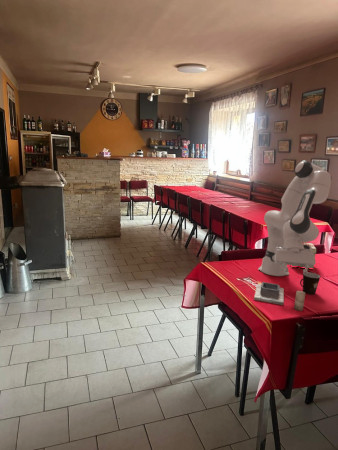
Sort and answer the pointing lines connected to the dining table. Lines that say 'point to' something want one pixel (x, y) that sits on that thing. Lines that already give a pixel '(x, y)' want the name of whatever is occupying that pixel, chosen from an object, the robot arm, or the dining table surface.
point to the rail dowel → (299, 300)
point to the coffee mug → (310, 283)
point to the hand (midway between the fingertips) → (296, 272)
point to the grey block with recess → (269, 293)
